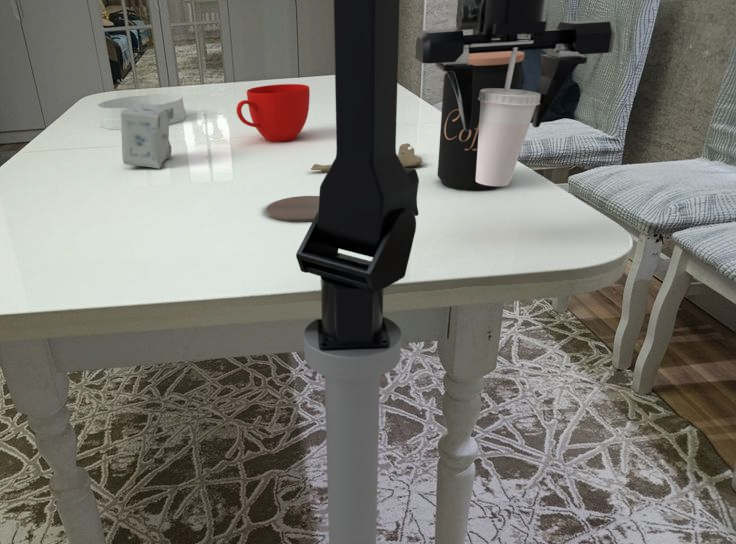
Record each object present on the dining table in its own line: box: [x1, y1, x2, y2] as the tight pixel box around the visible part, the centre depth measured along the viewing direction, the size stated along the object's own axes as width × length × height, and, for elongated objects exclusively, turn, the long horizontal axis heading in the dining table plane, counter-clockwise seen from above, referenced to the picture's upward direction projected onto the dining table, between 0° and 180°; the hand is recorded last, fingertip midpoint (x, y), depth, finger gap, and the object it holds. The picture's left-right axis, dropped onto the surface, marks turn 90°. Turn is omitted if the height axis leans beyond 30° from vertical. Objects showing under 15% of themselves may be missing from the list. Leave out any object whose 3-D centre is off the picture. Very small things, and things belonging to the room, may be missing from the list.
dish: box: [97, 93, 187, 131], centre depth 165 cm, size 22×22×5 cm
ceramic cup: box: [236, 83, 311, 143], centre depth 132 cm, size 13×17×10 cm
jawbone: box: [310, 143, 423, 173], centre depth 109 cm, size 9×20×2 cm, turn 115°
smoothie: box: [476, 47, 541, 188], centre depth 69 cm, size 6×6×14 cm
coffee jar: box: [437, 50, 525, 191], centre depth 94 cm, size 11×11×18 cm
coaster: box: [266, 195, 319, 223], centre depth 91 cm, size 11×11×1 cm
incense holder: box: [120, 103, 173, 170], centre depth 120 cm, size 10×8×10 cm
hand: (501, 128), depth 70 cm, fingers closed on smoothie, 7 cm apart
